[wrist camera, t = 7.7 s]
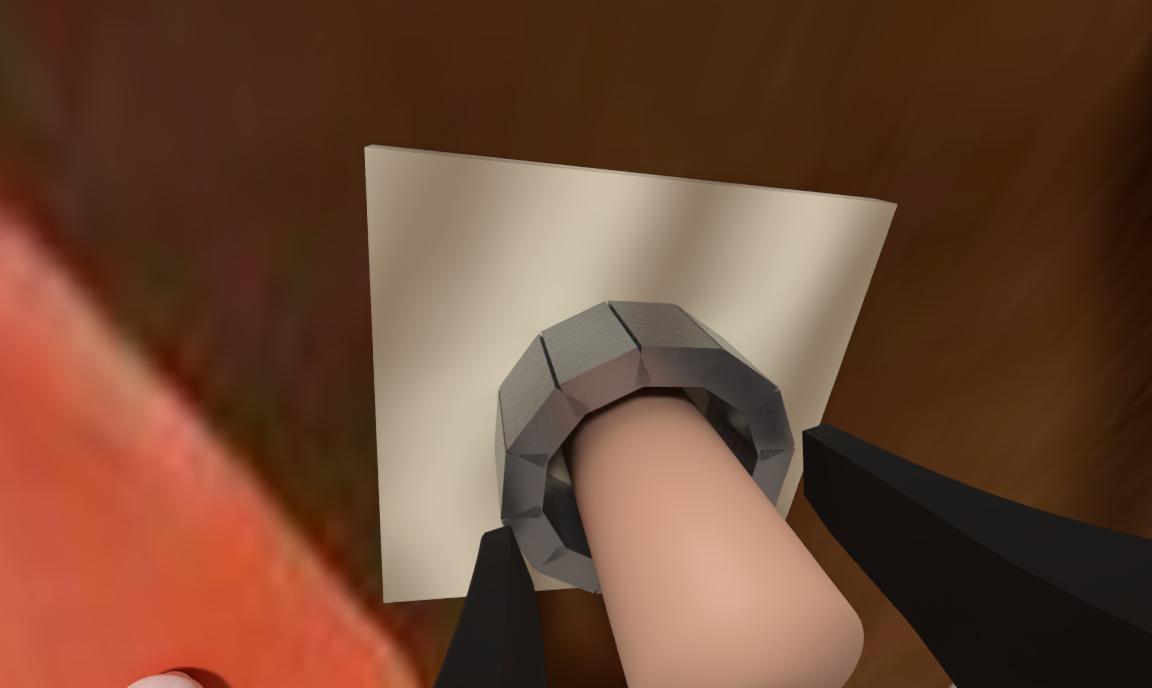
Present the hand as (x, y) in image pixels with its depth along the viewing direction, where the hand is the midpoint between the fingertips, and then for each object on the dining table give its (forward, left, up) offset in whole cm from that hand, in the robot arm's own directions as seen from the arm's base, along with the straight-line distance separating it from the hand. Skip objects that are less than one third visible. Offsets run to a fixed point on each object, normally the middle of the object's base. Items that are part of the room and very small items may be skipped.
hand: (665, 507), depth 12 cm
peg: (0, 0, -4) cm, 4 cm away
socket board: (0, 0, -5) cm, 5 cm away
